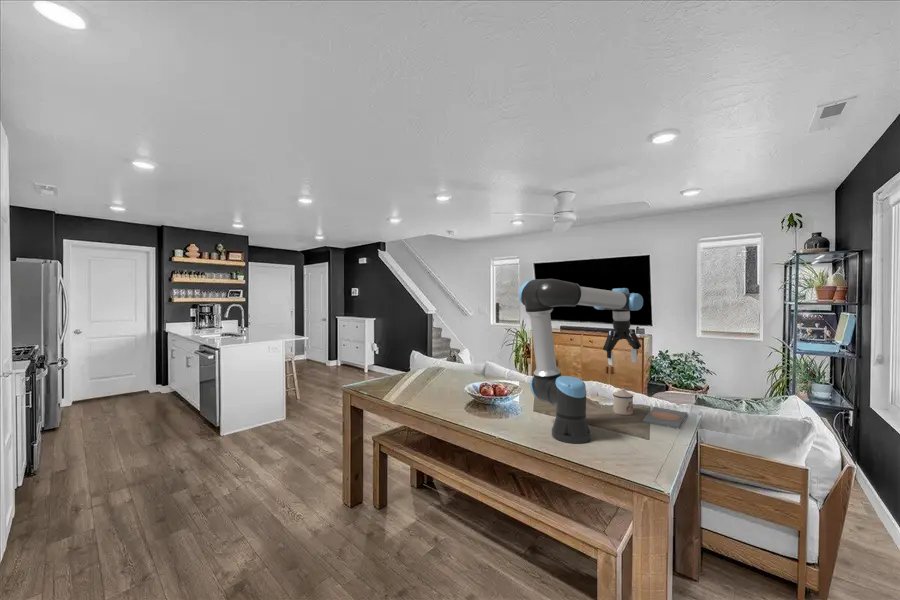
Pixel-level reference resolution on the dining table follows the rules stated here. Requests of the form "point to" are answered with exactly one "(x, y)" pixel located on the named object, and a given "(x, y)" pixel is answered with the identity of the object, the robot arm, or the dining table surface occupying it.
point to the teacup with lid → (623, 402)
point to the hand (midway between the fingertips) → (622, 363)
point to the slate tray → (665, 417)
